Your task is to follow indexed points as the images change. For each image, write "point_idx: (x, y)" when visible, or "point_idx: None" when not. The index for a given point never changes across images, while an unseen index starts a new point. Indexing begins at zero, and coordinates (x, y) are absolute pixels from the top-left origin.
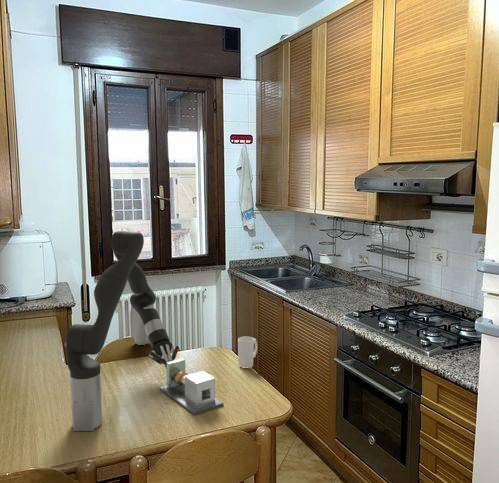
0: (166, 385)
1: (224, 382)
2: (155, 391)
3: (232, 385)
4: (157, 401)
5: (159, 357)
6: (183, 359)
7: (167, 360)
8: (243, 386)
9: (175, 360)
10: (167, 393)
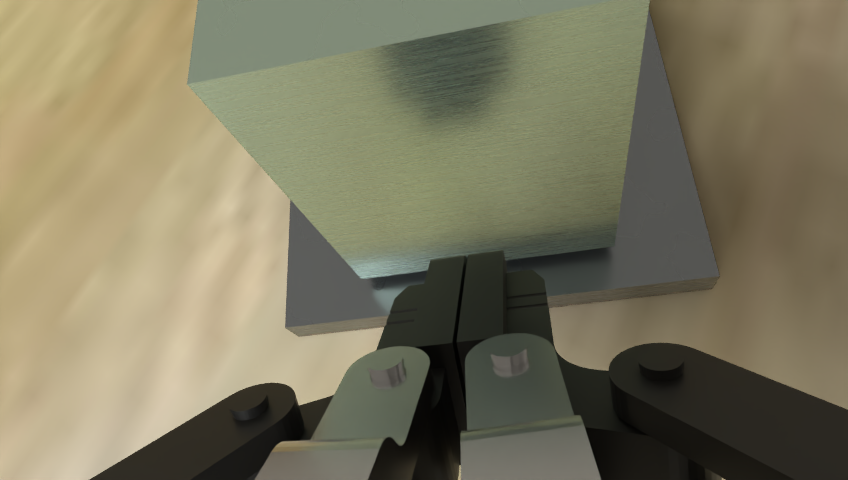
0: (609, 280)
1: (41, 138)
2: (786, 268)
3: (42, 60)
4: (823, 23)
5: (761, 441)
6: (216, 18)
7: (495, 342)
8: (3, 15)
9: (393, 25)
10: (668, 92)
